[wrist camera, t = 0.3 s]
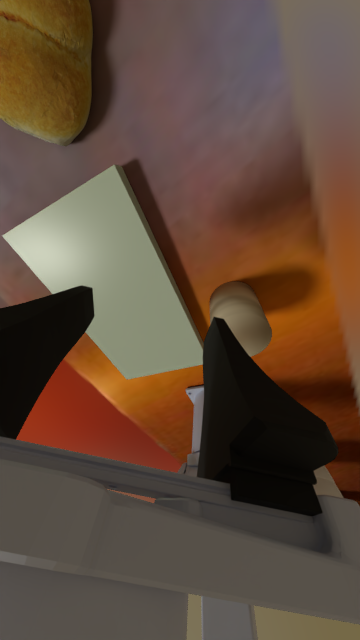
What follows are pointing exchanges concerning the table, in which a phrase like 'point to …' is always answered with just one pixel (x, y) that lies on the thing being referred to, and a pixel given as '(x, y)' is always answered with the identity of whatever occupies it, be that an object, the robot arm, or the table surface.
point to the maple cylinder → (242, 315)
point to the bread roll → (46, 67)
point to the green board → (113, 274)
